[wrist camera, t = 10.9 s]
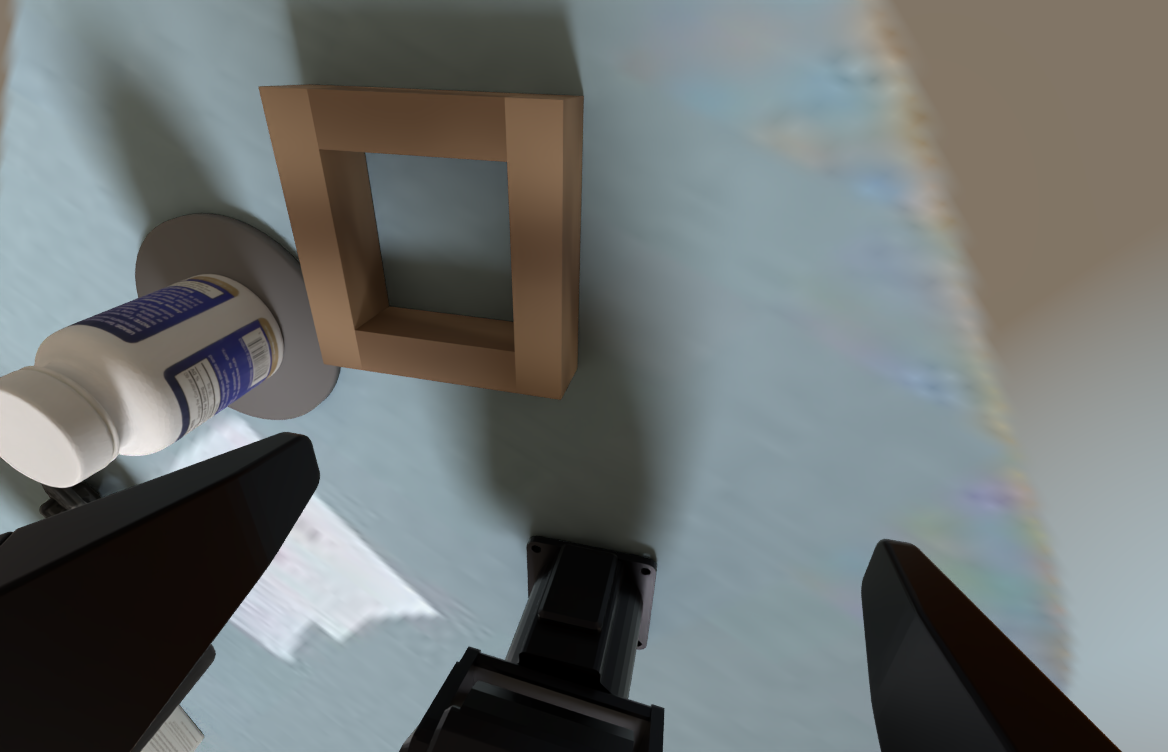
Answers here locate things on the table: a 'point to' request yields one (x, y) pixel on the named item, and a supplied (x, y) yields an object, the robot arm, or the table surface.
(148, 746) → the skincare box
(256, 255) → the mat
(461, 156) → the collar block
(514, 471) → the table surface
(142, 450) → the pill bottle
